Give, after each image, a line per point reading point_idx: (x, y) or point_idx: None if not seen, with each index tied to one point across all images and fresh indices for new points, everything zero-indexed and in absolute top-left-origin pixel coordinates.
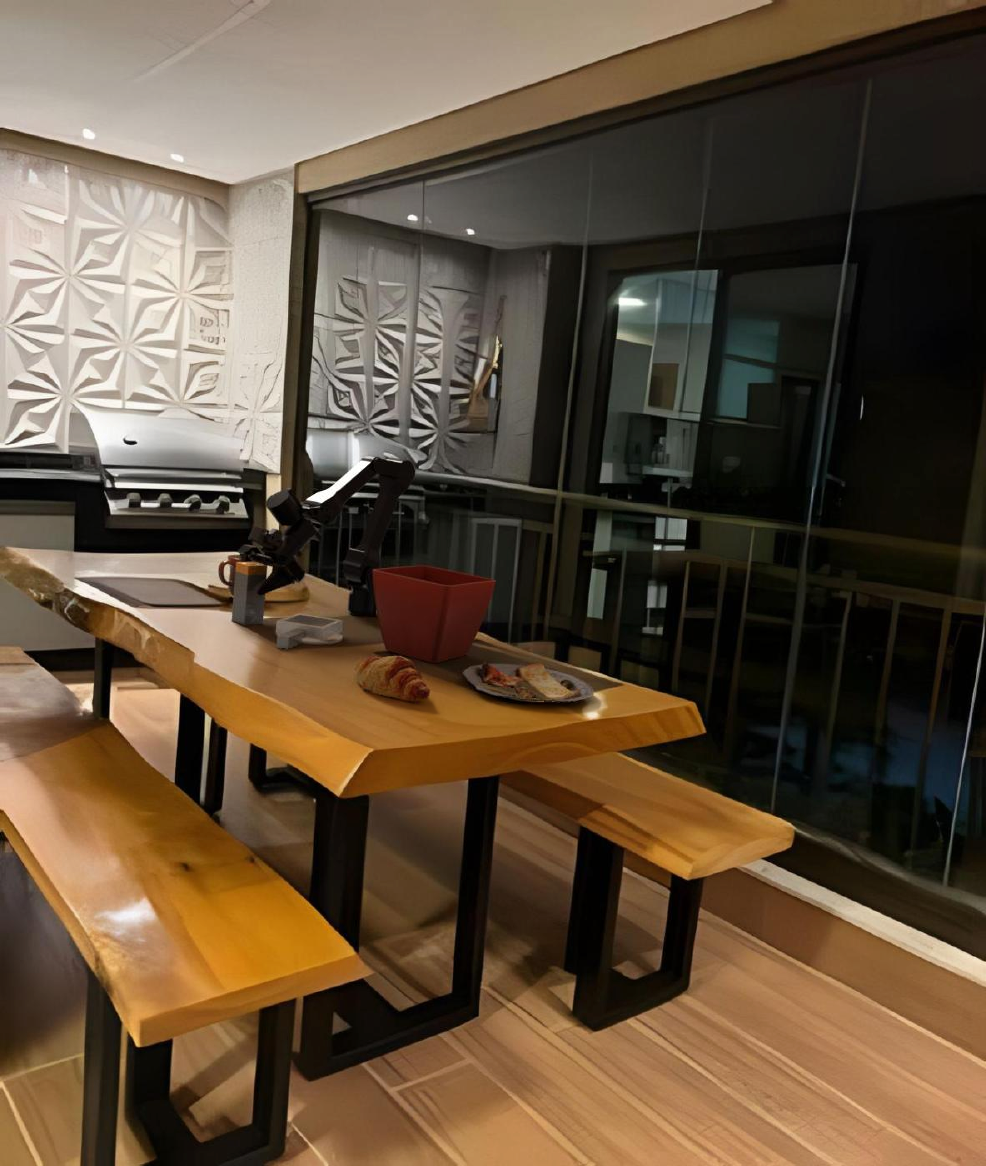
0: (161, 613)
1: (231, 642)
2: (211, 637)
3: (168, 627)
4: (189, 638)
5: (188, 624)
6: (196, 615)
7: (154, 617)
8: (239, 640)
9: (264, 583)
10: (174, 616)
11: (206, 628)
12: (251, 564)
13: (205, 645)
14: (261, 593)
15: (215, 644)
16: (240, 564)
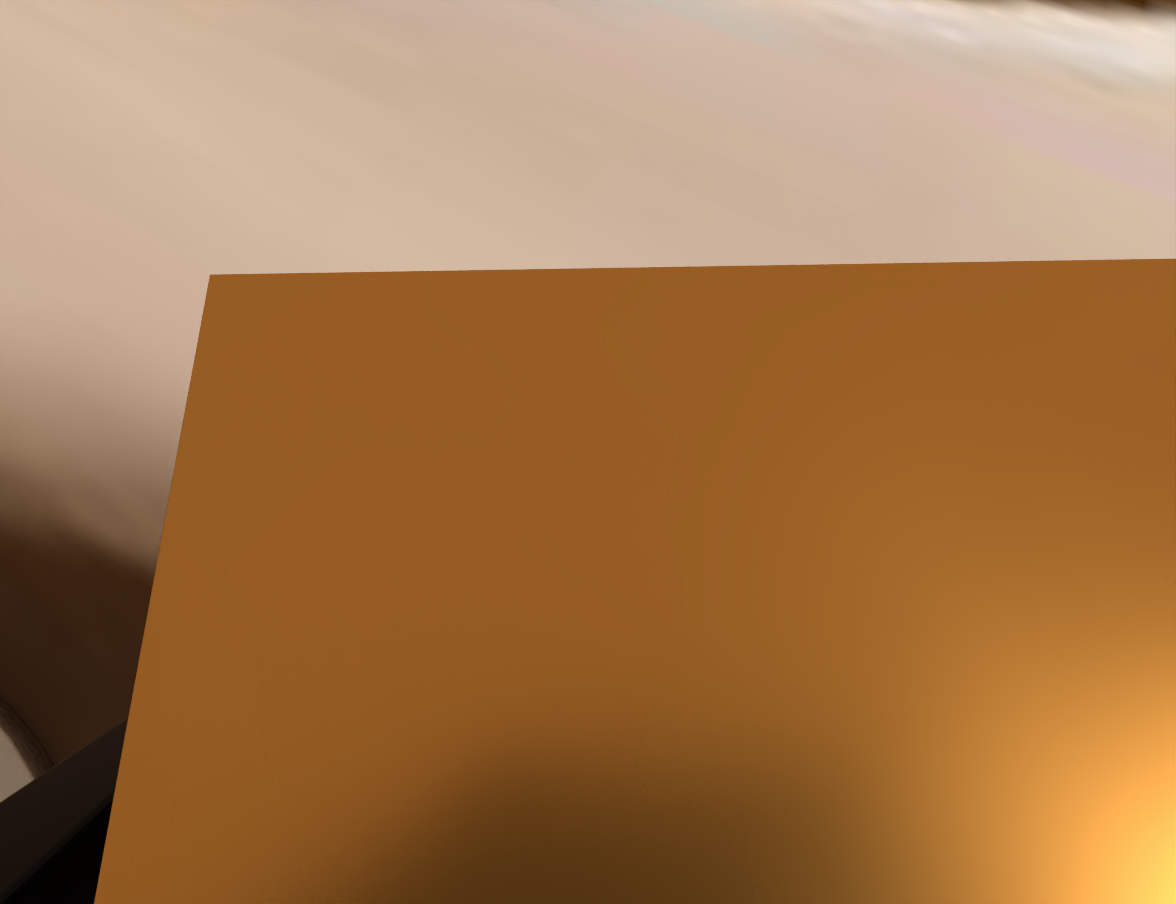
0: (1139, 194)
1: (13, 190)
2: (219, 144)
3: (623, 39)
4: (267, 16)
5: (682, 196)
6: None
7: (981, 91)
8: (27, 272)
9: (15, 821)
10: (1007, 233)
11: (503, 250)
12: (548, 666)
13: (50, 15)
14: None
15: (33, 75)
16: (882, 296)
